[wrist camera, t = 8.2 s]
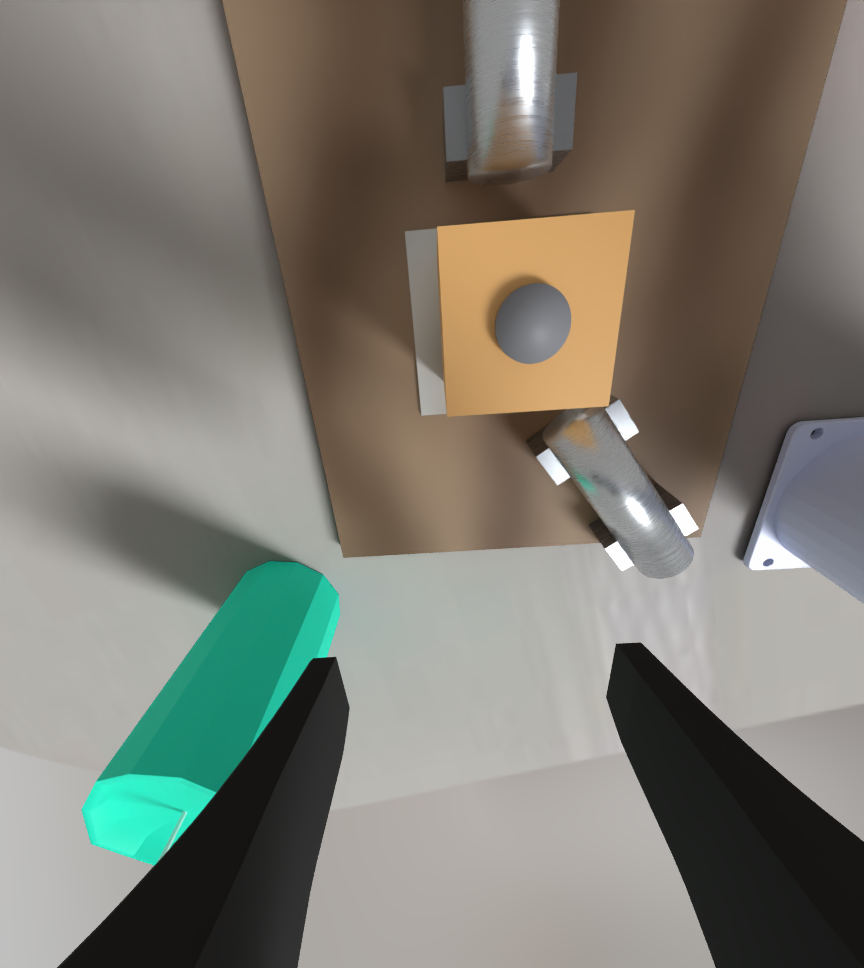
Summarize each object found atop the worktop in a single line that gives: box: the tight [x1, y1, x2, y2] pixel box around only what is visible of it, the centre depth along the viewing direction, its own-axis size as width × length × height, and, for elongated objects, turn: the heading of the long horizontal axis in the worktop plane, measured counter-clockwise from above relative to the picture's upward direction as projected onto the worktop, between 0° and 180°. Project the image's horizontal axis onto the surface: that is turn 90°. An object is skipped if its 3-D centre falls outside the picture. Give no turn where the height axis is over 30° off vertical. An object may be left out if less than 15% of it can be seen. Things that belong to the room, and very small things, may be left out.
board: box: [222, 0, 847, 558], centre depth 14 cm, size 18×23×1 cm
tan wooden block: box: [437, 210, 635, 417], centre depth 12 cm, size 4×4×6 cm
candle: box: [82, 561, 340, 865], centre depth 16 cm, size 6×6×12 cm
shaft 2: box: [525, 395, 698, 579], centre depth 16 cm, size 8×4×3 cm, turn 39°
